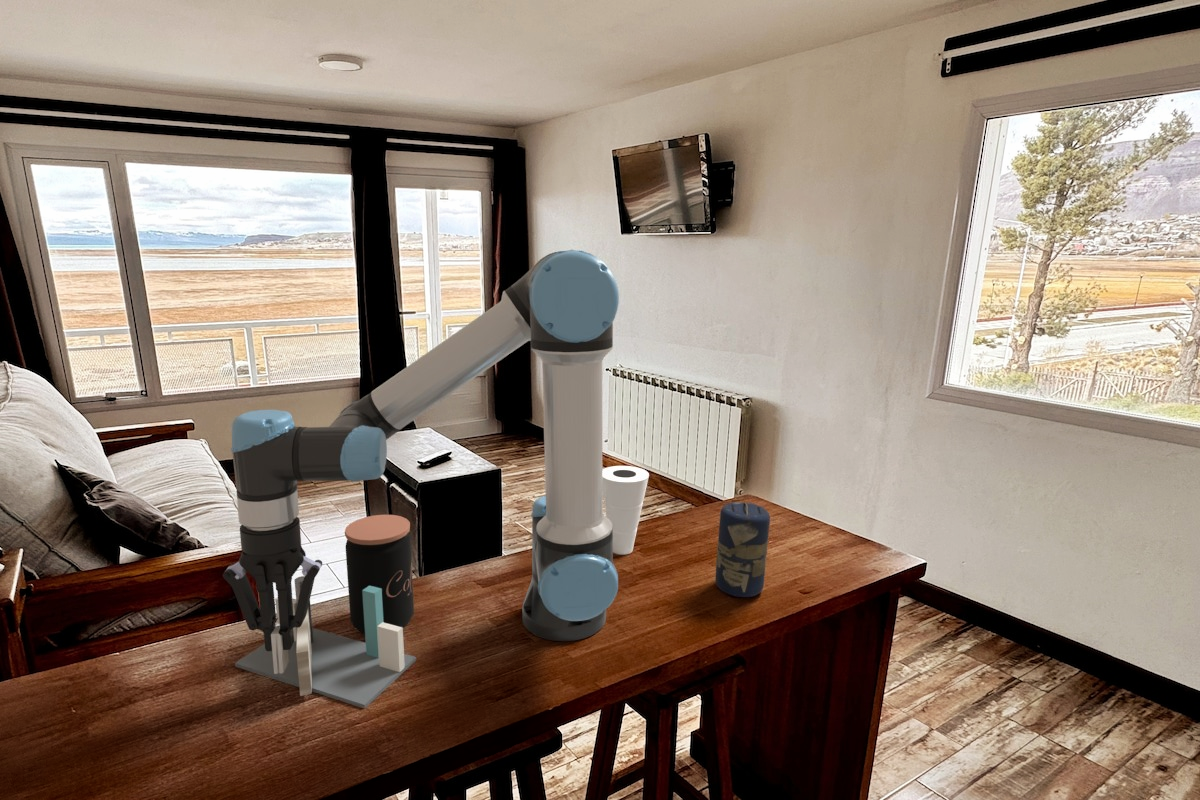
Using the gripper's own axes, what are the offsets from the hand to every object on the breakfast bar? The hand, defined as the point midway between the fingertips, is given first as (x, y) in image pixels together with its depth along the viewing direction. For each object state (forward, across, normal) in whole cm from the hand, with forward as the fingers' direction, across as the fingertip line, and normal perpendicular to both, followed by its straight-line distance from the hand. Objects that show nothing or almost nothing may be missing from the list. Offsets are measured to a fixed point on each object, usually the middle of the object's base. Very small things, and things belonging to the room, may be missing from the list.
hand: (281, 667), depth 94 cm
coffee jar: (+3, -12, -16) cm, 20 cm away
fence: (+3, -7, -7) cm, 10 cm away
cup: (+3, -60, -38) cm, 71 cm away
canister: (+2, -80, -18) cm, 82 cm away
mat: (+3, -5, -5) cm, 8 cm away
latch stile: (+3, -12, -5) cm, 14 cm away
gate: (+2, -3, -2) cm, 4 cm away
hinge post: (+3, -1, -10) cm, 11 cm away
